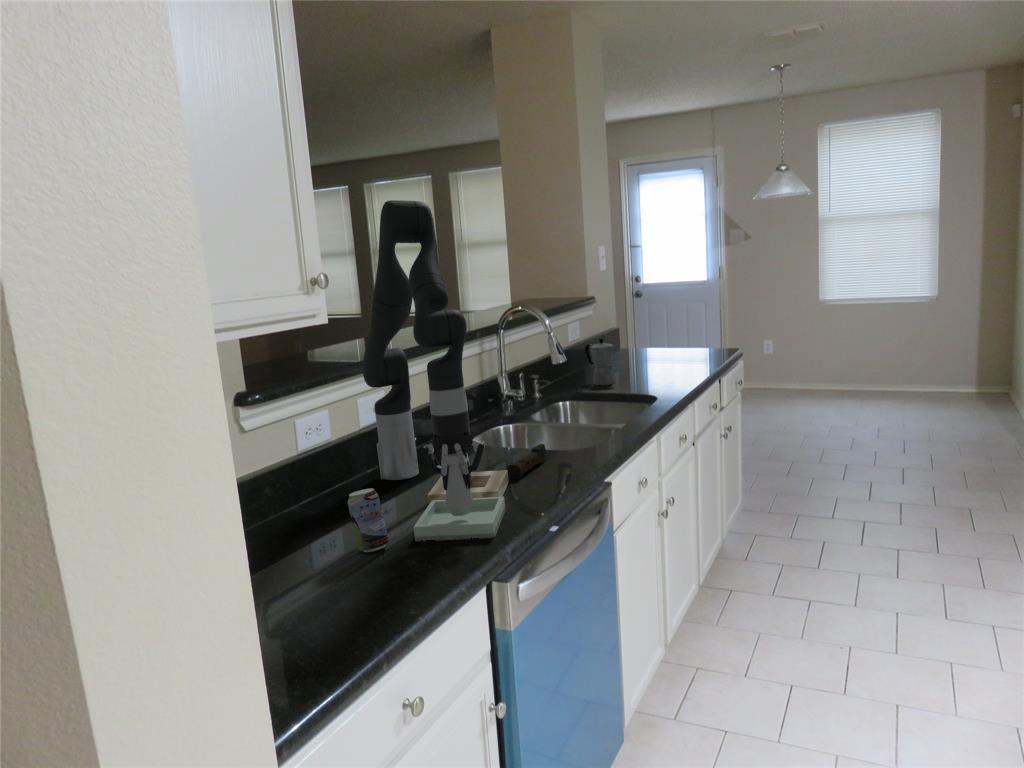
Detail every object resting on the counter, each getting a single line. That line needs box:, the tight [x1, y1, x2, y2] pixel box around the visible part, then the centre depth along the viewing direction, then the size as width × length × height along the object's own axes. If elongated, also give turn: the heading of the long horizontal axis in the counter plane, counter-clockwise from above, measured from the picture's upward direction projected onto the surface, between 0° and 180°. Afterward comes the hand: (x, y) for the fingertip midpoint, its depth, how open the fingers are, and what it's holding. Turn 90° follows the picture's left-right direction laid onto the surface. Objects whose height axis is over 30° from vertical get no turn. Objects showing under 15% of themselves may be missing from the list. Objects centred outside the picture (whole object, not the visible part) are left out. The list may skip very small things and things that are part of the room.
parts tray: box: [413, 496, 506, 542], centre depth 158 cm, size 16×16×3 cm
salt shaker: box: [445, 454, 473, 516], centre depth 157 cm, size 6×6×13 cm
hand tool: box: [505, 443, 547, 480], centre depth 195 cm, size 19×4×5 cm, turn 150°
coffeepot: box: [584, 337, 617, 386], centre depth 301 cm, size 15×9×18 cm, turn 44°
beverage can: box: [347, 487, 389, 553], centre depth 149 cm, size 6×7×12 cm
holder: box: [427, 469, 510, 505], centre depth 178 cm, size 16×16×3 cm
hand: (458, 490), depth 157 cm, fingers closed on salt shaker, 3 cm apart
